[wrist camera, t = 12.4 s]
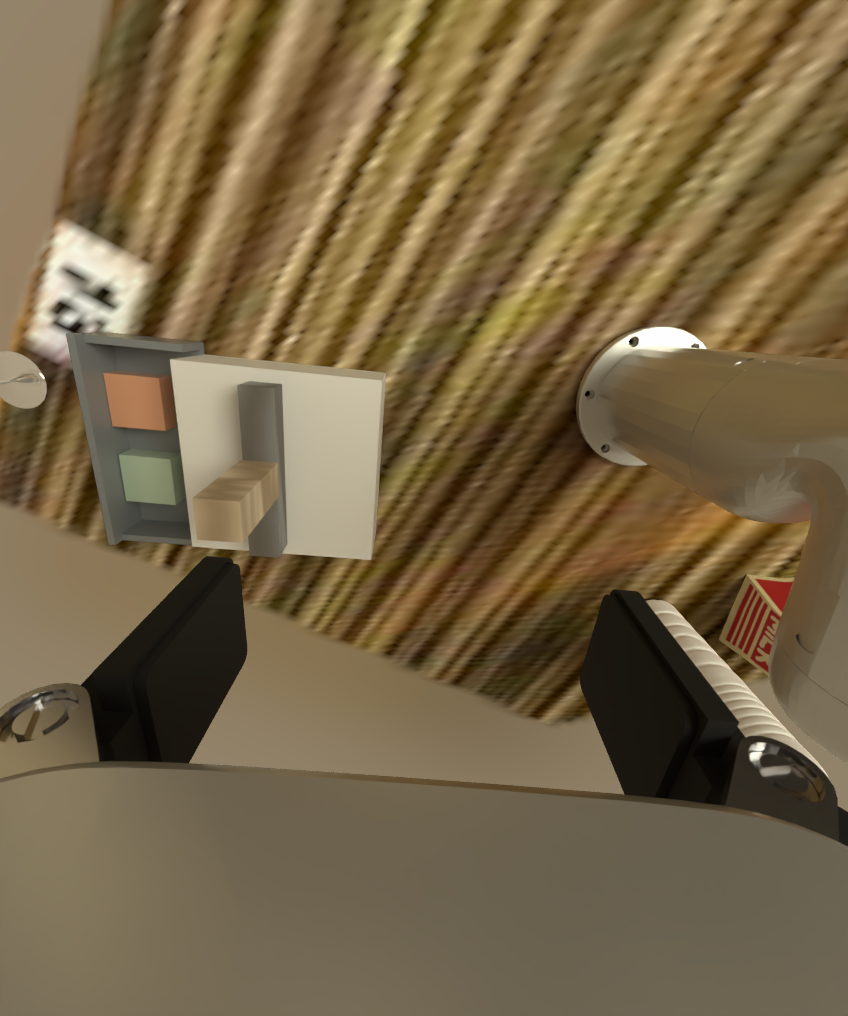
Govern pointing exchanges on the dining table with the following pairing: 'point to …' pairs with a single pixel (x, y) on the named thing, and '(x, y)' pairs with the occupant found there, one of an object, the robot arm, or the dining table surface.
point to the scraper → (250, 479)
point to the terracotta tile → (140, 400)
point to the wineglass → (21, 381)
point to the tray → (127, 431)
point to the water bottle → (725, 681)
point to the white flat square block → (291, 446)
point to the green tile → (152, 476)
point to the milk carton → (756, 618)
